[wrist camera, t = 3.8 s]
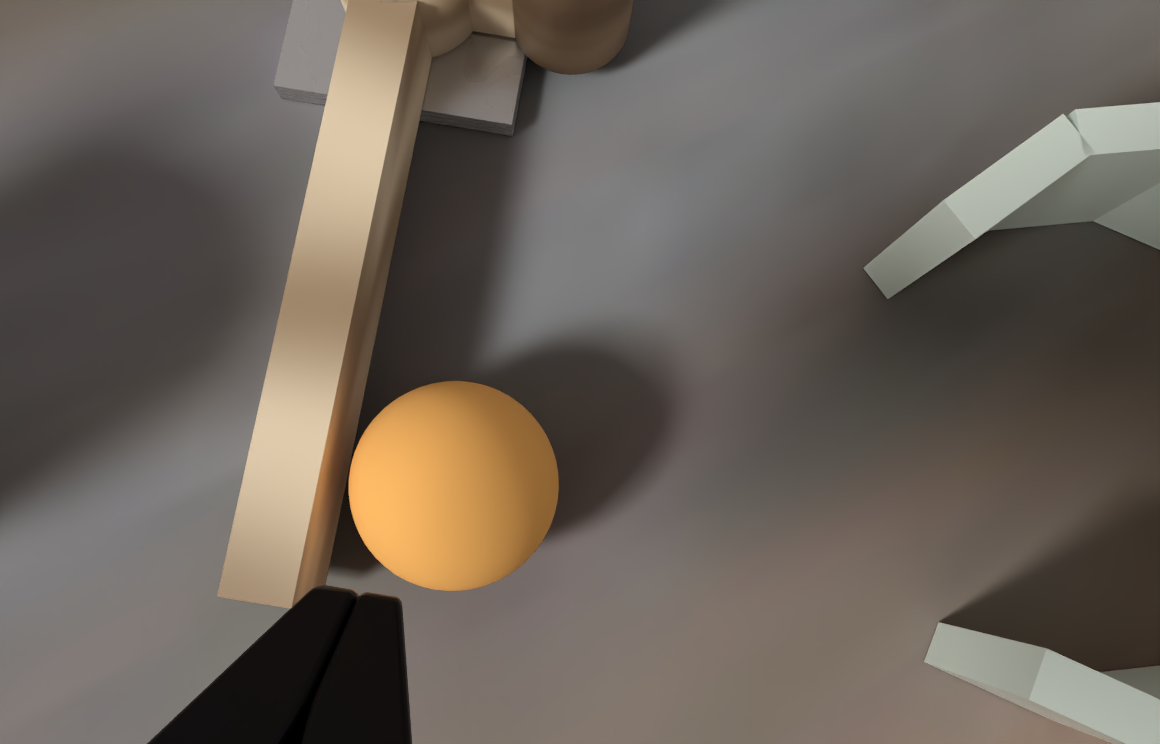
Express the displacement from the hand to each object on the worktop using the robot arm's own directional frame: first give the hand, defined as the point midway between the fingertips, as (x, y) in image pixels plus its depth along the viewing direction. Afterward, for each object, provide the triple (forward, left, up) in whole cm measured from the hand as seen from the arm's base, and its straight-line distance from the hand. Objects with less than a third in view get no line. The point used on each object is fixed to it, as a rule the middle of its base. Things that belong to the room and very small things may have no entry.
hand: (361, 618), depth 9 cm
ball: (+2, -1, -11) cm, 11 cm away
